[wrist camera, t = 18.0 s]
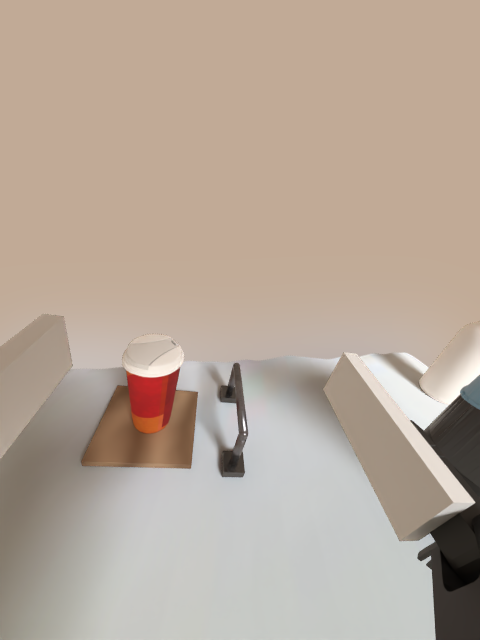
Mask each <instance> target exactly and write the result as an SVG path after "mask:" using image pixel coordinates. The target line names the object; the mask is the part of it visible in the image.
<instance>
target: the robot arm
mask: <svg viewBox="0 0 480 640" xmlns="http://www.w3.org/2000/svg"><path fill="white" fill-rule="evenodd" d="M72 366H73V364H72V359H71V353H70V348H69V343H68V338H67V332H66V326H65V321H64V317H63V316H57V315H49V314H42V315H41V316H40V317H38V318H37V319H36V320H34V321H33V322H32V323H31V324H29V325H28V326H27V327H25V328H24V329H23V330H22V331H20V332H19V333H18V334H17V335H15V336H14V337H12V338H11V339H10V340H9V341H7V342H6V343H5V344H4V345H2V346H1V347H0V459H1V458H2V456H3V455H4V454H5V453H6V451H7V450H8V449H9V447H10V446H11V445H12V444H13V442H14V441H15V440H16V438H17V437H18V436H19V435H20V433H21V432H22V431H23V429H24V428H25V427H26V425H27V424H28V423H29V422H30V420H31V419H32V418H33V416H34V415H35V414H36V413H37V411H38V410H39V409H40V407H41V406H42V405H43V404H44V402H45V401H46V400H47V398H48V397H49V396H50V394H51V393H52V392H53V391H54V389H55V388H56V387H57V385H58V384H59V383H60V382H61V380H62V379H63V378H64V376H65V375H66V374H67V373H68V371H69V370H70V369H71V367H72ZM323 390H324V392H325V394H326V396H327V398H328V400H329V402H330V404H331V406H332V408H333V410H334V412H335V414H336V416H337V418H338V420H339V422H340V424H341V426H342V428H343V430H344V432H345V434H346V436H347V438H348V440H349V442H350V444H351V445H352V447H353V449H354V451H355V453H356V455H357V457H358V459H359V461H360V463H361V465H362V467H363V469H364V471H365V473H366V475H367V477H368V479H369V481H370V483H371V485H372V487H373V489H374V491H375V493H376V495H377V497H378V499H379V501H380V503H381V505H382V507H383V509H384V511H385V513H386V515H387V517H388V519H389V521H390V523H391V525H392V527H393V529H394V531H395V533H396V535H397V537H398V539H399V541H417V540H420V539H422V538H423V537H425V536H426V535H428V534H429V533H431V535H432V536H433V538H434V540H435V541H436V542H434V543H432V544H431V545H429V546H428V547H426V548H424V549H423V550H421V551H420V552H419V553H418V558H417V559H419V560H420V561H422V560H424V559H426V558H427V557H429V556H431V560H430V561H429V562H428V563H427V564H426V565H427V566H428V567H429V568H430V569H432V579H433V597H434V615H435V633H436V640H480V375H479V376H477V377H476V378H475V379H474V380H473V381H472V382H471V383H470V384H469V385H466V386H464V387H463V388H462V389H461V390H460V395H459V396H458V397H457V398H456V399H455V400H454V401H453V402H452V403H451V404H450V405H449V406H448V407H447V408H446V409H445V410H444V411H443V412H442V413H441V414H440V415H439V416H438V417H437V418H436V419H435V420H434V421H433V422H432V423H431V424H430V425H429V426H428V427H427V428H426V429H425V430H424V431H423V430H422V429H421V428H420V427H419V426H418V425H417V424H415V423H414V422H413V421H412V420H409V419H408V418H407V416H406V415H405V414H404V413H403V411H402V410H401V409H400V408H399V406H398V405H397V404H396V403H395V401H394V400H393V399H392V398H391V396H390V395H389V394H388V393H387V391H386V390H385V389H384V388H383V386H382V385H381V384H380V383H379V381H378V380H377V379H376V378H375V376H374V375H373V374H372V373H371V371H370V370H369V369H368V368H367V366H366V365H365V364H364V363H363V361H362V360H361V359H360V358H359V356H358V355H357V354H353V353H346V352H343V354H342V356H341V358H340V360H339V361H338V363H337V365H336V367H335V369H334V371H333V372H332V374H331V376H330V378H329V380H328V382H327V383H326V385H325V387H324V389H323Z"/></svg>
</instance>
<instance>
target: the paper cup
mask: <svg viewBox="0 0 480 640" xmlns="http://www.w3.org/2000/svg"><path fill="white" fill-rule="evenodd" d="M183 361H184V353H183V351H182V349H181V346H179V345H178V343H177V342H176V341H175V340H172V338H171V337H169V336H166V335H162V334H161V335H160V334H148V335H143V336H140V337H138V338H136V339H134V340H133V341H131V342H130V343H129V345H128V348H127V349H126V350H125V352H124V354H123V357H122V365H123V367H124V368H125V369H126V372H127V380H128V389H129V397H130V405H131V413H132V419H133V424H134V426H135V428H136V429H137V430H138V431H140V432H142V433H146V434H151V433H156V432H158V431H160V430H162V429H163V428H165V427H166V425H167V424H168V422H169V420H170V416H171V412H172V407H173V402H174V397H175V392H176V386H177V381H178V376H179V370H180V366H181V365H182V363H183Z"/></svg>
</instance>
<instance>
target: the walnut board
mask: <svg viewBox="0 0 480 640" xmlns="http://www.w3.org/2000/svg"><path fill="white" fill-rule="evenodd" d="M197 396H198V392H190V391H178V390H176V392H175V397H174V402H173V407H172V412H171V416H170V420H169V422H168V424H167V425H166V427H165V428H163V429H162V430H160V431H158V432H156V433H151V434H146V433H142V432H140V431H138V430H137V429H136V428H135V426H134V424H133V419H132V413H131V405H130V397H129V389H128V386H117V388H116V390H115V392H114V394H113V396H112V398H111V400H110V403H109V405H108V407H107V409H106V411H105V413H104V415H103V417H102V419H101V421H100V423H99V425H98V428H97V430H96V432H95V434H94V436H93V438H92V440H91V442H90V444H89V446H88V448H87V450H86V452H85V455H84V457H83V459H82V461H81V463H82V466H112V467H151V468H190V469H191V463H192V452H193V441H194V430H195V418H196V407H197Z"/></svg>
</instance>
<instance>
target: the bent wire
mask: <svg viewBox="0 0 480 640" xmlns="http://www.w3.org/2000/svg"><path fill="white" fill-rule="evenodd" d="M234 386H235V387H234ZM221 402H227V403H236V405H237V416H238V428H239V434H238V437H237V440H236V443H235V446H234V449H233V451H223V453H222V477H243V476H244V473H245V471H244V460H243V452H242V450H243V447H244V445H245V442H246V439H247V436H248V428H247V420H246V412H245V404H244V396H243V387H242V379H241V371H240V365H239V364H238V363H235V364H234V365H233V368H232V372H231V376H230V380H229V384H228V386H221Z"/></svg>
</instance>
